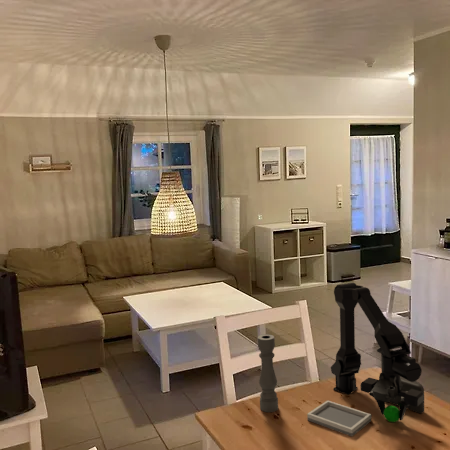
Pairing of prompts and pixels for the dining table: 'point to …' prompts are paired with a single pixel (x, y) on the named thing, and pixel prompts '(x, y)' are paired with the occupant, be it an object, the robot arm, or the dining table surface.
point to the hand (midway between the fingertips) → (391, 417)
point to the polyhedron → (391, 413)
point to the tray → (339, 418)
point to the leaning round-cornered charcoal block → (406, 387)
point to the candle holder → (267, 374)
